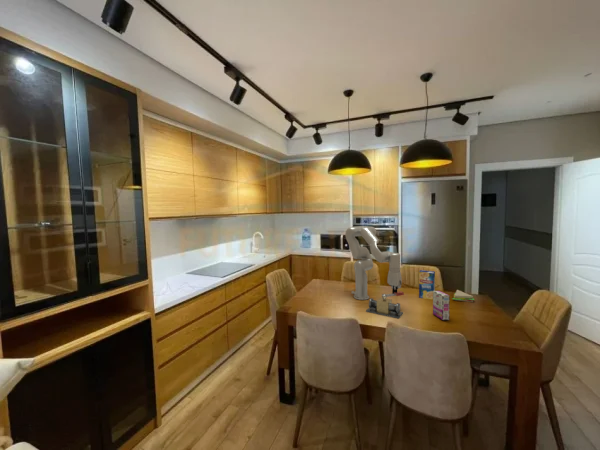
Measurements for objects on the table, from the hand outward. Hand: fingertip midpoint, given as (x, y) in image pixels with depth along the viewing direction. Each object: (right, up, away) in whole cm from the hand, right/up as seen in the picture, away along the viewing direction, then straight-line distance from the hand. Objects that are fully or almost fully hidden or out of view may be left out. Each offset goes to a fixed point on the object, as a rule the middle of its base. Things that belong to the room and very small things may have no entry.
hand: (394, 294), depth 191 cm
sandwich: (+61, -9, +18) cm, 64 cm away
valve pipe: (-10, -11, -7) cm, 16 cm away
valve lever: (-3, 0, -5) cm, 6 cm away
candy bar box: (+25, -11, -16) cm, 32 cm away
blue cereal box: (+34, -9, +21) cm, 41 cm away
